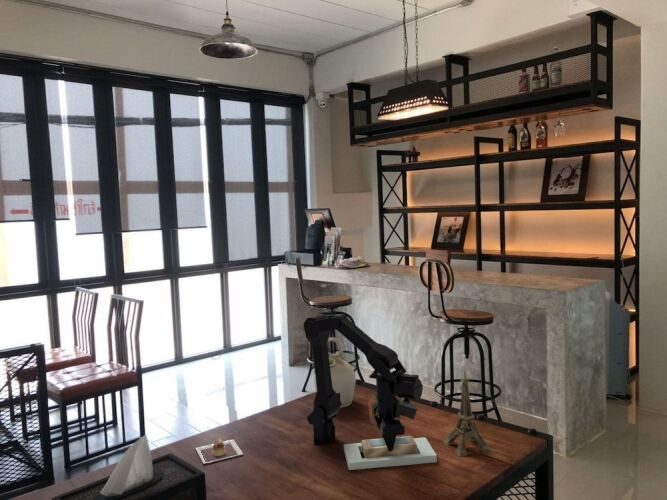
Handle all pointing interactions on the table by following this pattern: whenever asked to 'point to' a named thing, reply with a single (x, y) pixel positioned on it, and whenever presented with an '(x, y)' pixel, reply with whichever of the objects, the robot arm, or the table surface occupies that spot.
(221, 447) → the dessert
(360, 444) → the pale grey open frame
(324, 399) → the robot arm
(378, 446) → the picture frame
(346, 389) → the jug
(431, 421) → the table surface
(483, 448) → the eiffel tower
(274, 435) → the table surface
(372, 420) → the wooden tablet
